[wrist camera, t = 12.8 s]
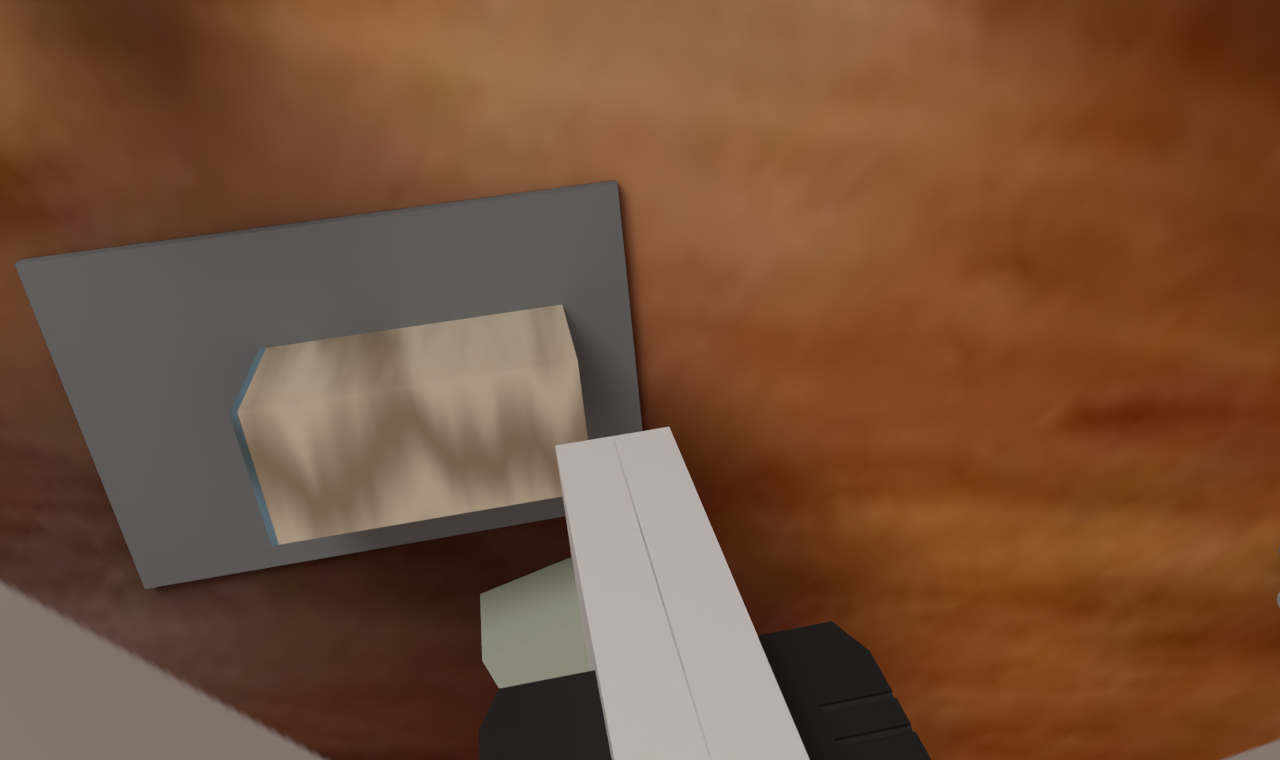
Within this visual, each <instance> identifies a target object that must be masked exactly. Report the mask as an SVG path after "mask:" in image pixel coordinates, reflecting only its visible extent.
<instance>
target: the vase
mask: <svg viewBox="0 0 1280 760" xmlns="http://www.w3.org/2000/svg"><path fill="white" fill-rule="evenodd" d="M1279 553H1280V547H1279ZM1277 605H1278V606H1279V608H1280V592H1279V594H1278V596H1277Z"/></svg>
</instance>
